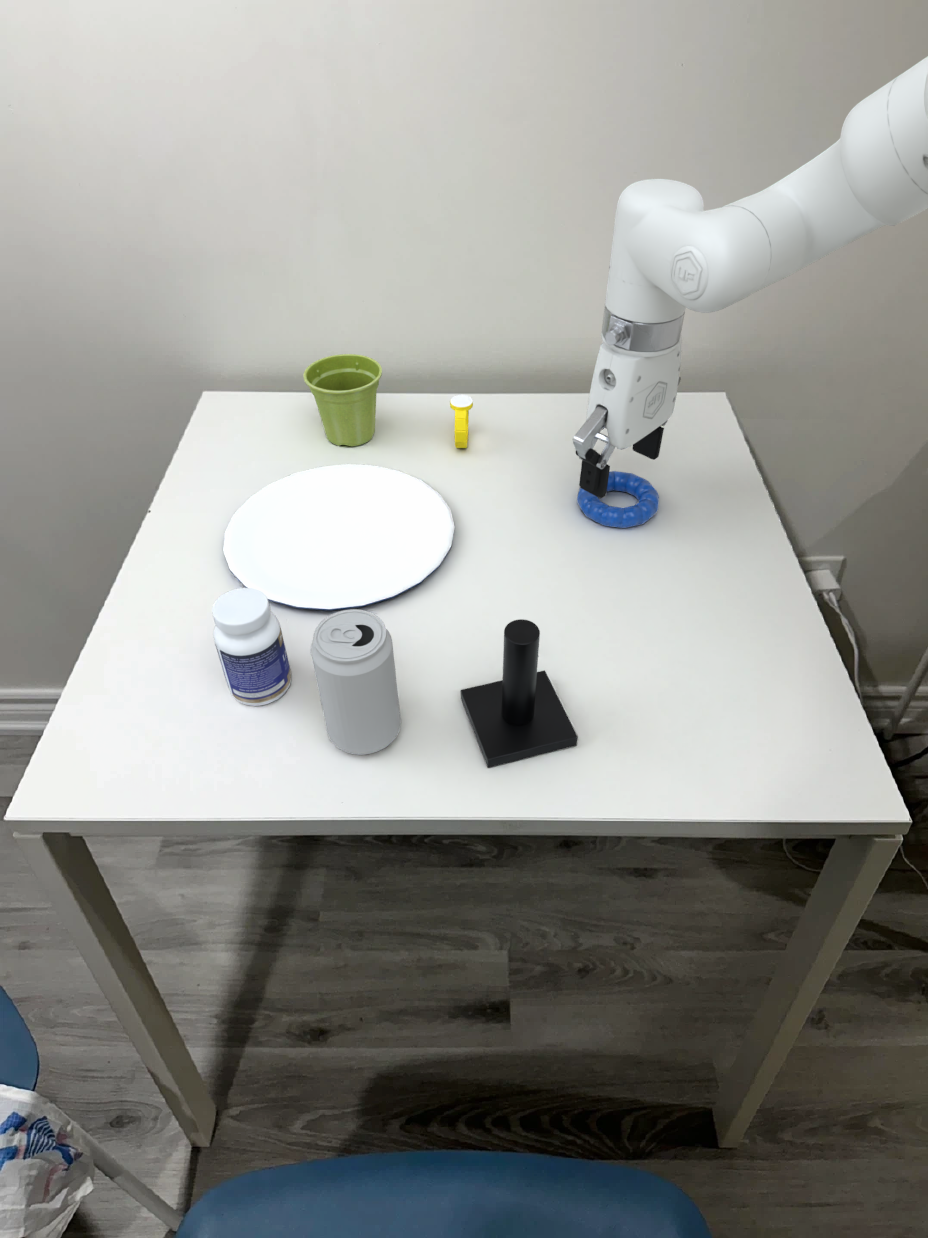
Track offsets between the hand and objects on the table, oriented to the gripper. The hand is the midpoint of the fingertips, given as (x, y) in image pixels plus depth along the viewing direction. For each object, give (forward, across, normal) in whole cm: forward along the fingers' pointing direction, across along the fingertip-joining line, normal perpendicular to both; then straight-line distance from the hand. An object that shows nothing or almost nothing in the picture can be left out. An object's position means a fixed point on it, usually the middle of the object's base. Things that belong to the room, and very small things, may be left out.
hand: (619, 472), depth 93 cm
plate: (+5, -25, +19) cm, 31 cm away
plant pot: (+5, -10, +33) cm, 35 cm away
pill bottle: (+5, -44, +8) cm, 45 cm away
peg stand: (+4, -31, -12) cm, 34 cm away
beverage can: (+5, -41, -3) cm, 41 cm away
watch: (+5, -2, +22) cm, 22 cm away
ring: (+3, 0, 0) cm, 3 cm away
